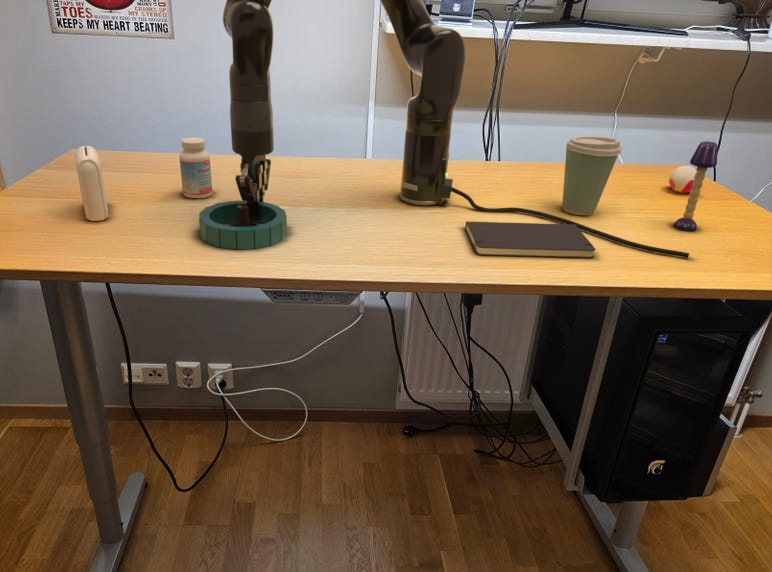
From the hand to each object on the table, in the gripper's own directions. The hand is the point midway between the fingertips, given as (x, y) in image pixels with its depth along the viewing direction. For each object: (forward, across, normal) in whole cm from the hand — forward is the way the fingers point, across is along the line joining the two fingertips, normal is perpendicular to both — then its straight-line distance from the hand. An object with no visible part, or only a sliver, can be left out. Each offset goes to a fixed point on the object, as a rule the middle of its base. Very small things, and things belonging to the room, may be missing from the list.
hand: (256, 217), depth 126 cm
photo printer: (+1, -5, +30) cm, 31 cm away
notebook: (+1, +4, -52) cm, 52 cm away
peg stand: (+1, -7, 0) cm, 7 cm away
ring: (+1, -7, 0) cm, 7 cm away
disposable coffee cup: (+1, +26, -62) cm, 68 cm away
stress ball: (+1, +47, -88) cm, 99 cm away
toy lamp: (+1, +22, -82) cm, 85 cm away
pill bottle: (+1, +11, +16) cm, 20 cm away
